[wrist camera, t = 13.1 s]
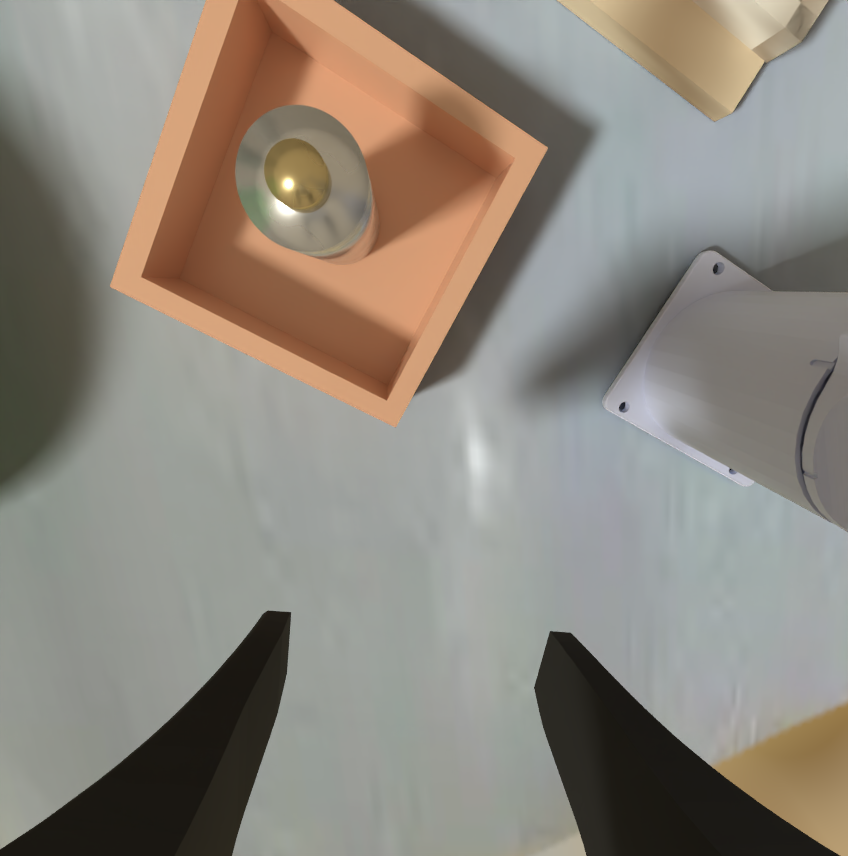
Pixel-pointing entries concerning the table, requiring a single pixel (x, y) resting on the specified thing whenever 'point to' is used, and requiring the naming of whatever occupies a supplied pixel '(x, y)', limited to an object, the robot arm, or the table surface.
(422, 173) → the dish
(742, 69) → the wooden board with compartments
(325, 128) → the cell
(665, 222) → the table surface
